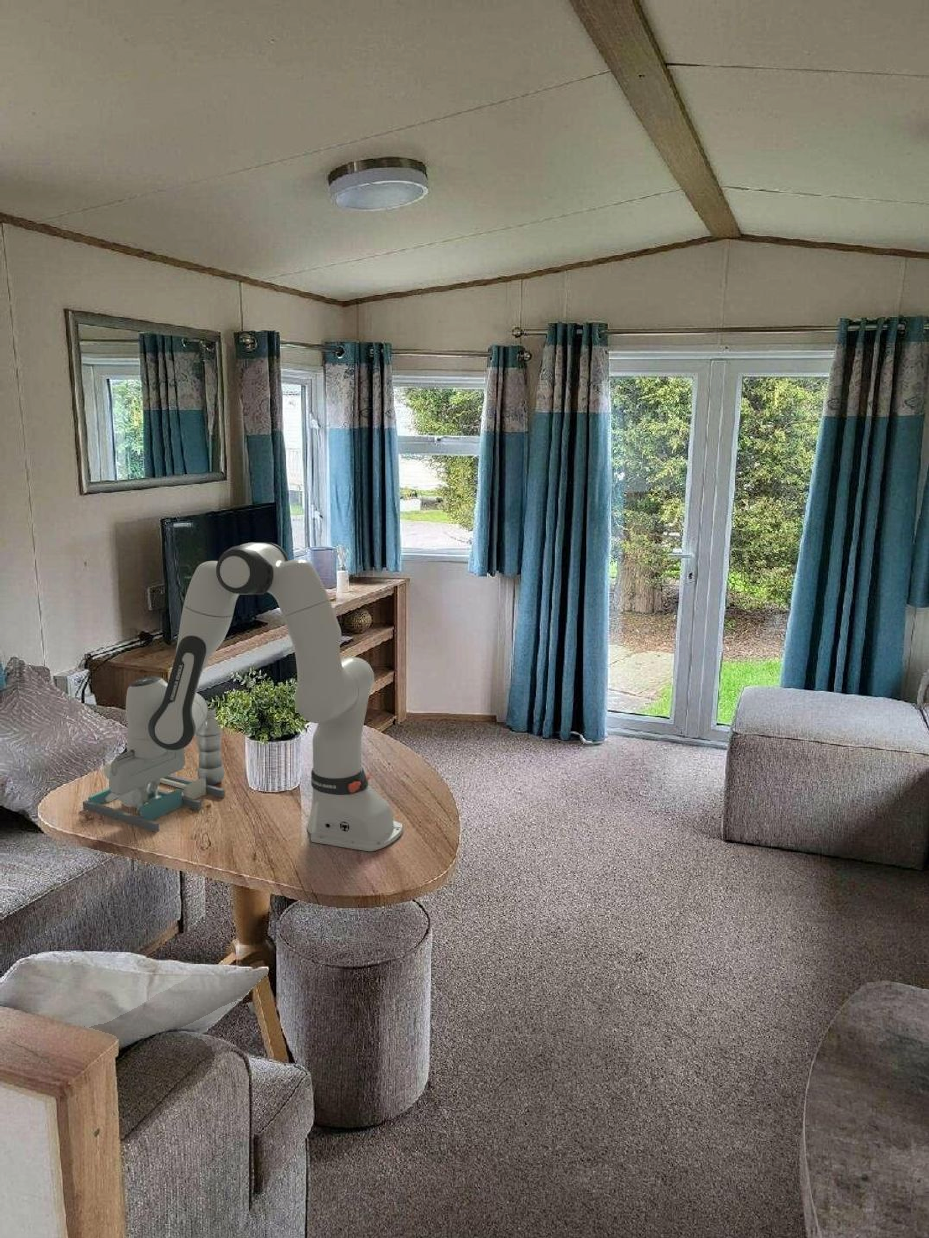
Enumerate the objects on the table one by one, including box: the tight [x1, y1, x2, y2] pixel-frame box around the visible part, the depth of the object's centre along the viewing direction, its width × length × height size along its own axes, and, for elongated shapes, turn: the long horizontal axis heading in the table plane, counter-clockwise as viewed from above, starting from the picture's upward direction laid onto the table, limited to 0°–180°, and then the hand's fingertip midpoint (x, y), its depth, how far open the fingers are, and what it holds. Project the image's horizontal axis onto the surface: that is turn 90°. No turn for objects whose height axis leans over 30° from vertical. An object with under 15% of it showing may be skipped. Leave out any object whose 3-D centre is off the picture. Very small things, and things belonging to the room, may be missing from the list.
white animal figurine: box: [103, 758, 159, 815], centre depth 211 cm, size 9×8×15 cm
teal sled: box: [87, 787, 183, 821], centre depth 210 cm, size 19×12×4 cm, turn 62°
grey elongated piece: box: [160, 778, 207, 800], centre depth 219 cm, size 19×6×4 cm, turn 62°
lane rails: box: [82, 774, 226, 833], centre depth 213 cm, size 24×22×2 cm
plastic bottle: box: [195, 706, 225, 786], centre depth 223 cm, size 6×7×20 cm
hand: (148, 798), depth 207 cm, fingers closed, pressing on white animal figurine
